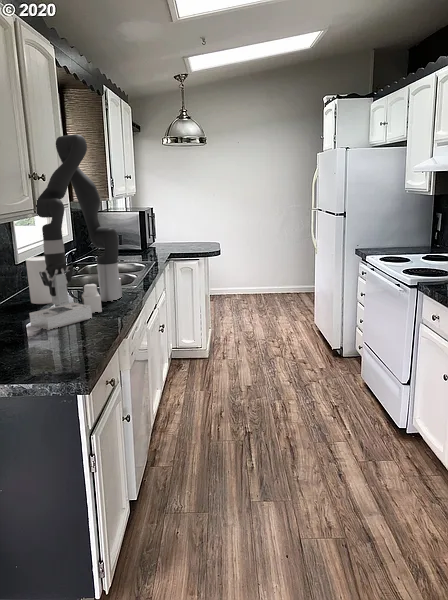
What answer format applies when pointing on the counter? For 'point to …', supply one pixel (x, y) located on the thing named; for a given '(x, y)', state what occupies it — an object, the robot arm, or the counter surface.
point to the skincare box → (60, 290)
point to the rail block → (60, 316)
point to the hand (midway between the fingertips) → (59, 294)
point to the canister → (37, 281)
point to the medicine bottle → (91, 297)
